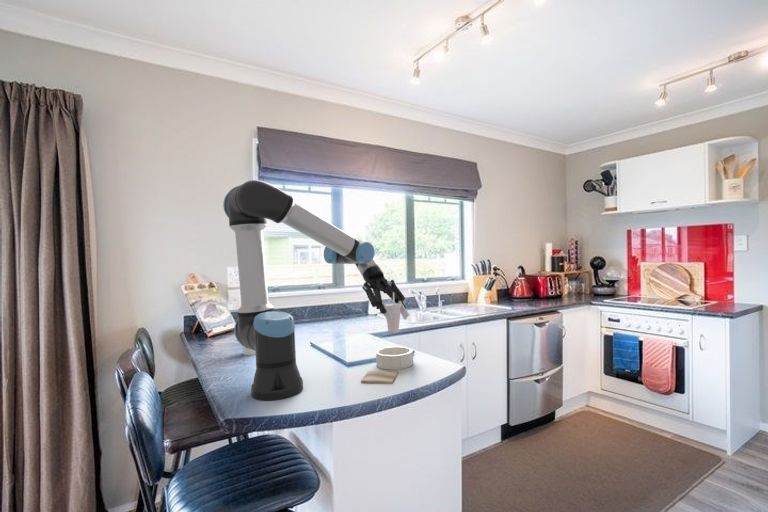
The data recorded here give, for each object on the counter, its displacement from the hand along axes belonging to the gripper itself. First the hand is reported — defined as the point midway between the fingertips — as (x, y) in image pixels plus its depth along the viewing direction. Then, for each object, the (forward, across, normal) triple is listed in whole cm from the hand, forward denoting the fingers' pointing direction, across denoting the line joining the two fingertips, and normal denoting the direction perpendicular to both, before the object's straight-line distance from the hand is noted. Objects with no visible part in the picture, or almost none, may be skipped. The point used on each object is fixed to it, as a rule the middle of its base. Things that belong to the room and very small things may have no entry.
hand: (398, 318), depth 134 cm
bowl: (+10, 0, -14) cm, 17 cm away
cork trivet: (+16, +13, -8) cm, 22 cm away
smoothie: (+1, 0, -6) cm, 6 cm away
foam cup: (-31, +34, -56) cm, 72 cm away
